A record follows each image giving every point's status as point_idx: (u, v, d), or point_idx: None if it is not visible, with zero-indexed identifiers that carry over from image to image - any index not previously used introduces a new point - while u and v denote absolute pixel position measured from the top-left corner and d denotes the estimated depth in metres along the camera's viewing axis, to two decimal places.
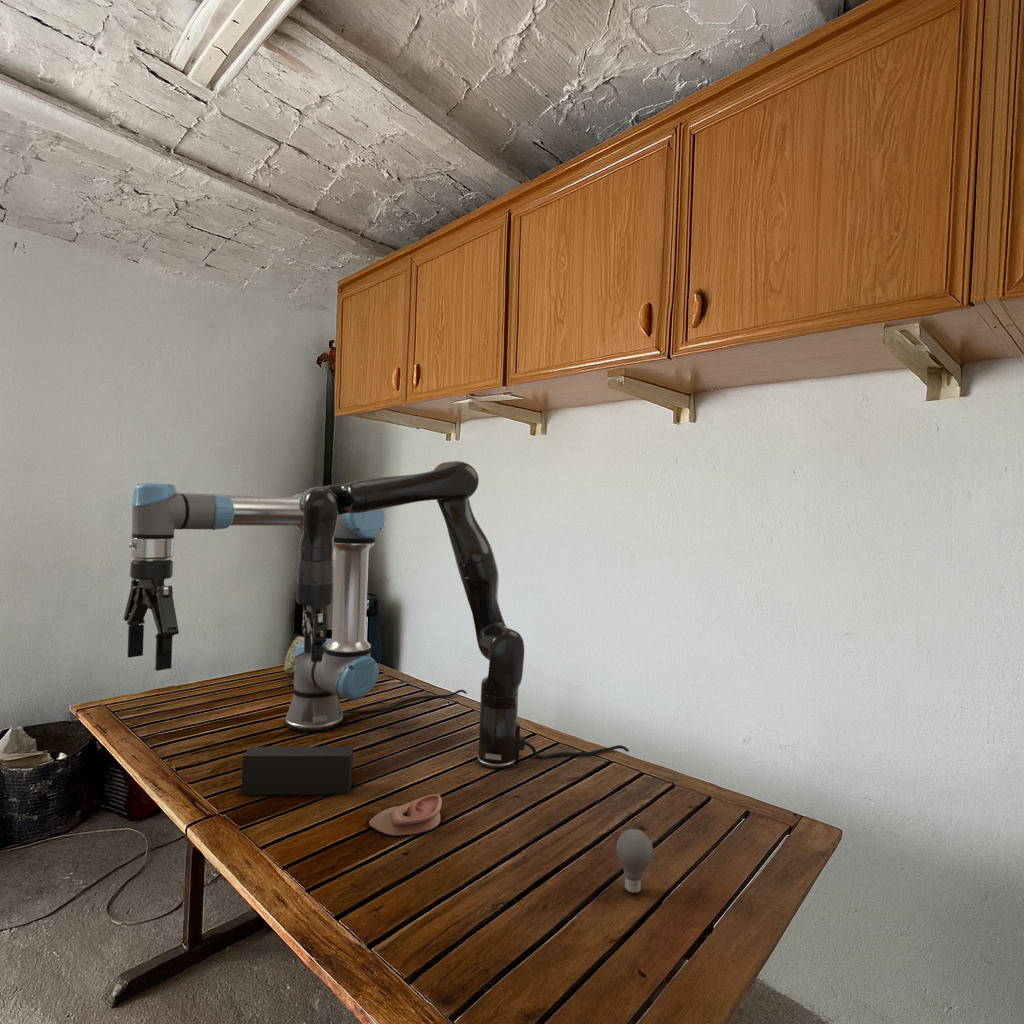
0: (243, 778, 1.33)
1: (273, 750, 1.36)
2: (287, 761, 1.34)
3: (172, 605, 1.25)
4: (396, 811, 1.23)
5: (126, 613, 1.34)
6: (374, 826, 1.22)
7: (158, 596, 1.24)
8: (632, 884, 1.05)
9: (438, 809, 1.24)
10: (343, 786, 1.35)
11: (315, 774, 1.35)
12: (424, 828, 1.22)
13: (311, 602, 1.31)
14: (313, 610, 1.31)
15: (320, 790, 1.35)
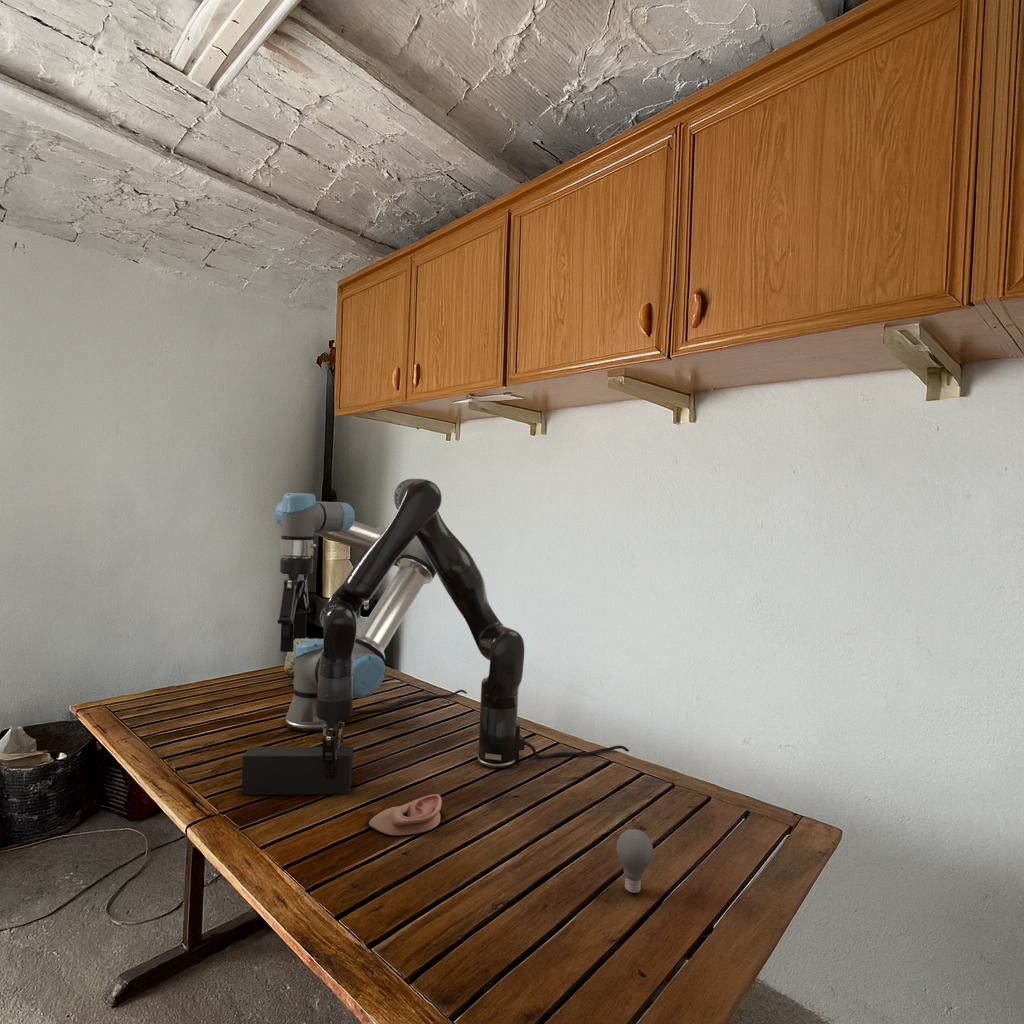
0: (243, 778, 1.33)
1: (273, 750, 1.36)
2: (287, 761, 1.34)
3: None
4: (396, 811, 1.23)
5: (291, 614, 1.44)
6: (374, 826, 1.22)
7: (306, 581, 1.59)
8: (632, 884, 1.05)
9: (438, 809, 1.24)
10: (343, 786, 1.35)
11: (315, 774, 1.35)
12: (424, 828, 1.22)
13: (325, 718, 1.34)
14: (327, 726, 1.34)
15: (320, 790, 1.35)
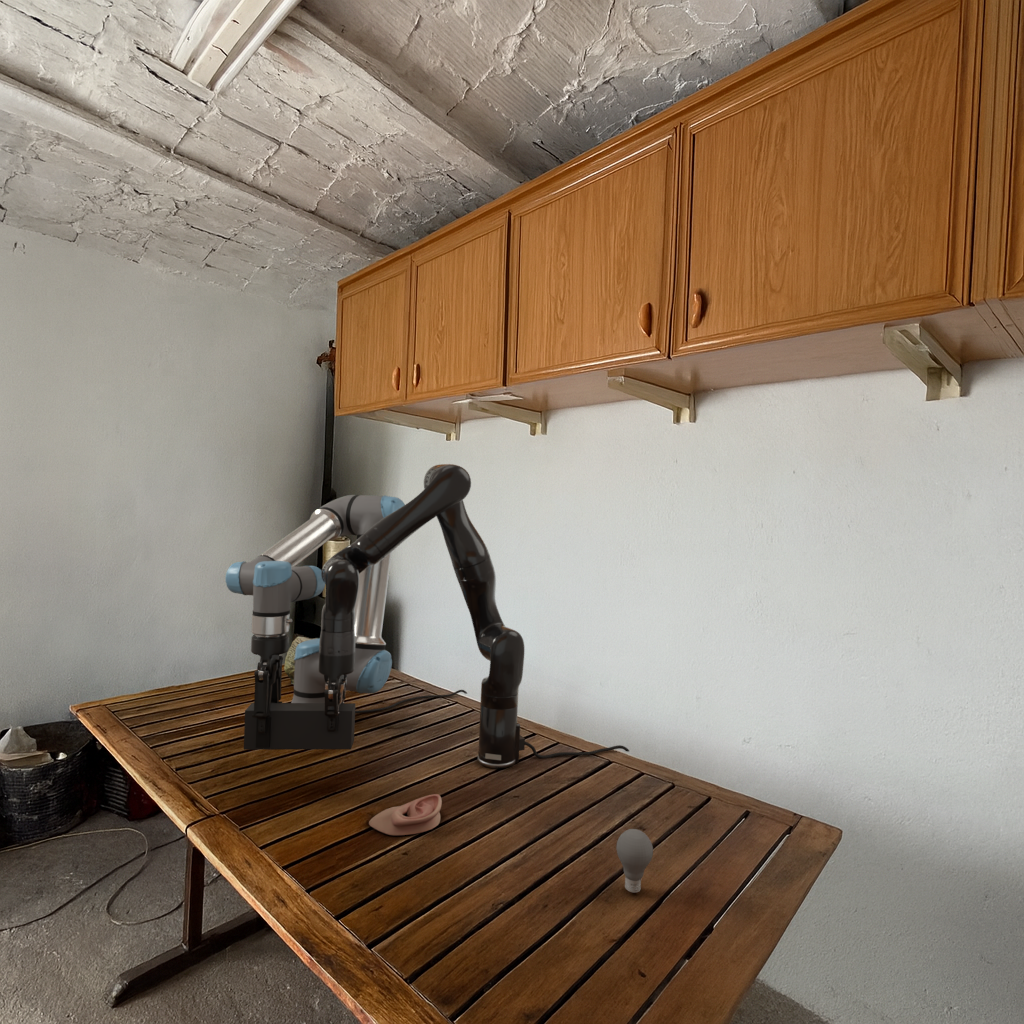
0: (245, 733, 1.33)
1: (275, 706, 1.36)
2: (289, 716, 1.34)
3: None
4: (396, 811, 1.23)
5: (266, 708, 1.30)
6: (374, 826, 1.22)
7: (281, 664, 1.41)
8: (632, 884, 1.05)
9: (438, 809, 1.24)
10: (345, 741, 1.35)
11: (317, 729, 1.34)
12: (424, 828, 1.22)
13: (327, 672, 1.33)
14: (329, 680, 1.33)
15: (322, 745, 1.35)
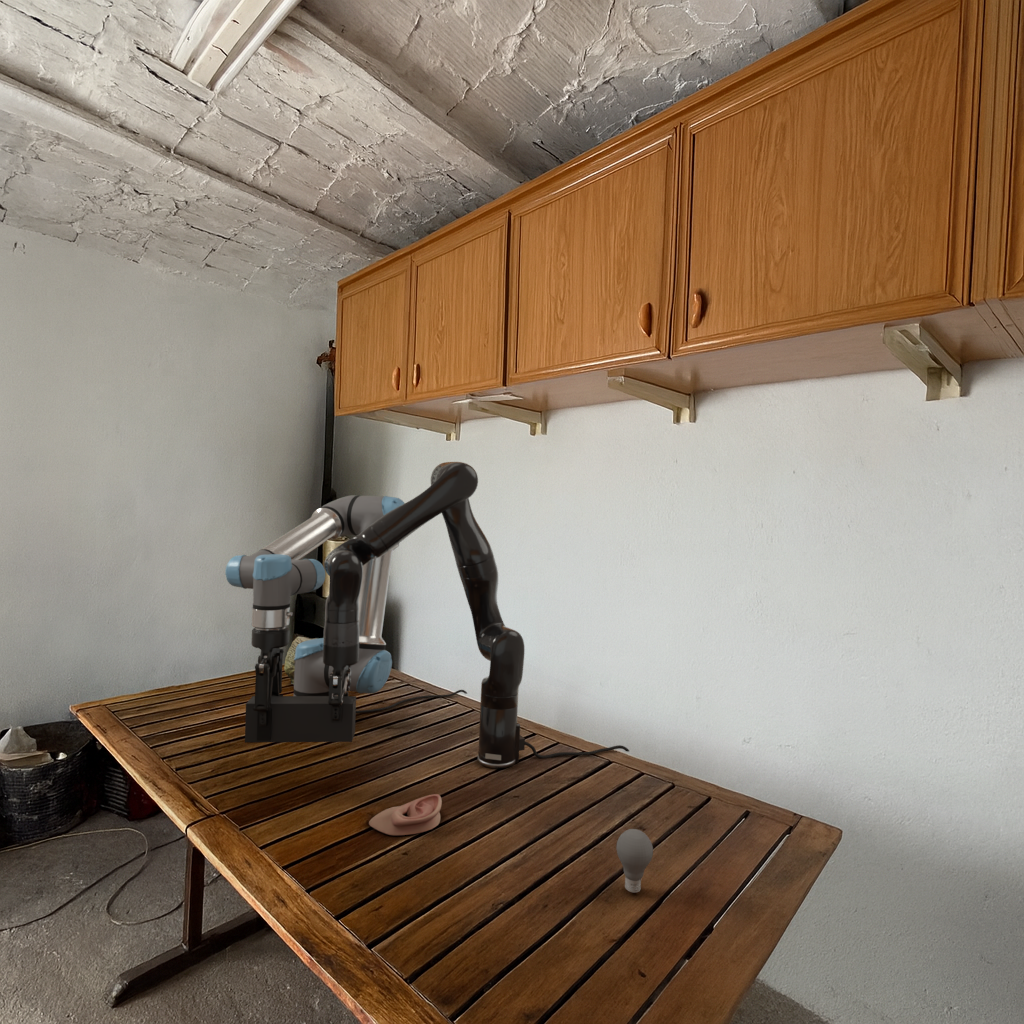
0: (246, 726, 1.33)
1: (276, 699, 1.36)
2: (290, 709, 1.34)
3: None
4: (396, 811, 1.23)
5: (267, 701, 1.30)
6: (374, 826, 1.22)
7: (282, 657, 1.41)
8: (632, 884, 1.05)
9: (438, 809, 1.24)
10: (346, 734, 1.35)
11: (318, 722, 1.35)
12: (424, 828, 1.22)
13: (332, 663, 1.34)
14: (333, 671, 1.33)
15: (323, 738, 1.35)
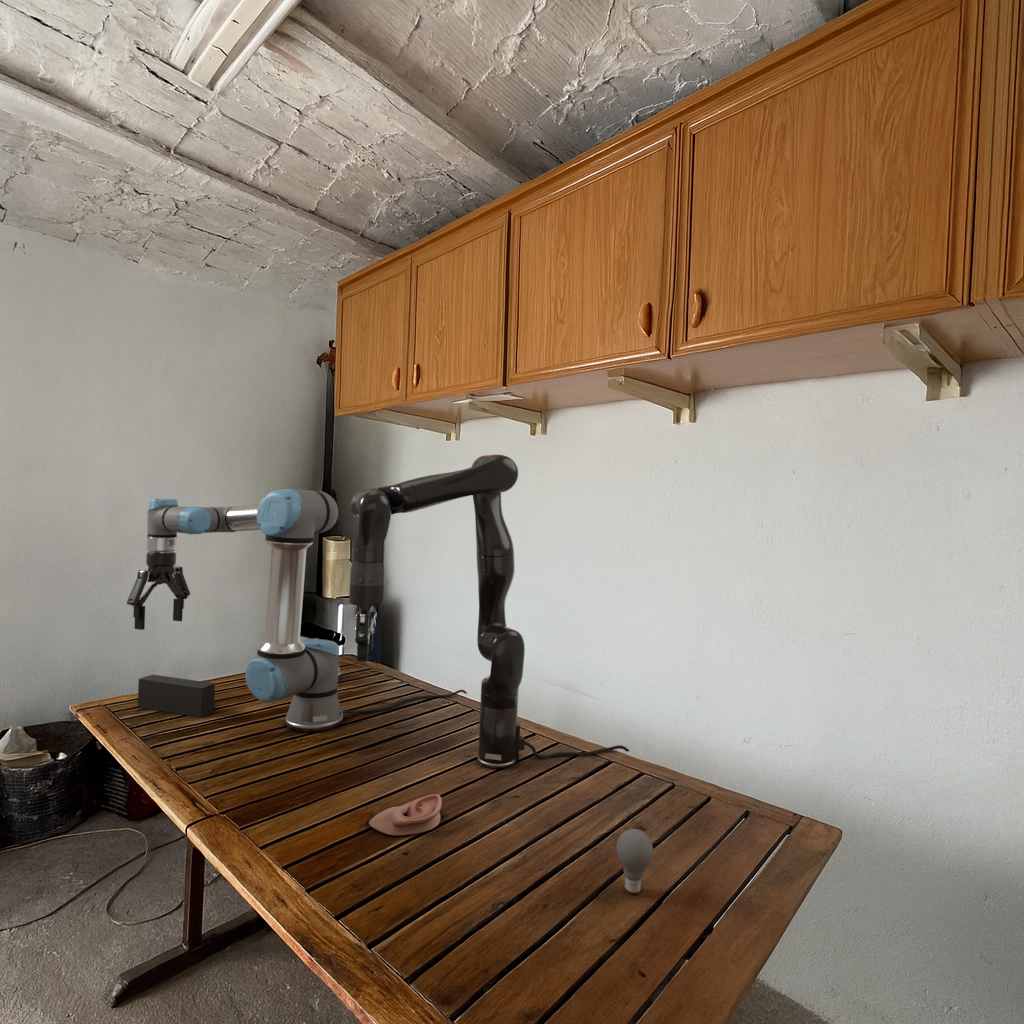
0: (138, 695, 1.82)
1: (161, 678, 1.84)
2: (164, 687, 1.80)
3: None
4: (396, 811, 1.23)
5: (137, 598, 1.74)
6: (374, 826, 1.22)
7: (181, 572, 1.89)
8: (632, 884, 1.05)
9: (438, 809, 1.24)
10: (197, 710, 1.77)
11: (180, 699, 1.78)
12: (424, 828, 1.22)
13: (358, 602, 1.34)
14: (360, 610, 1.34)
15: (183, 712, 1.78)
